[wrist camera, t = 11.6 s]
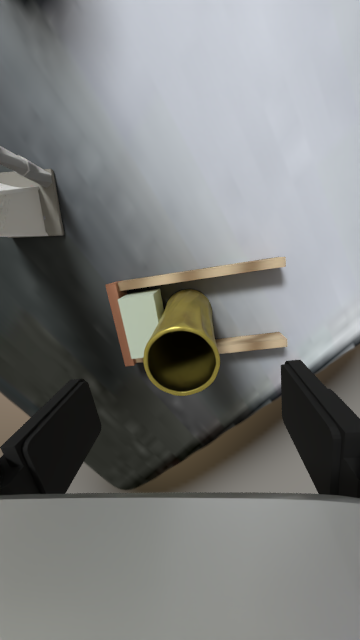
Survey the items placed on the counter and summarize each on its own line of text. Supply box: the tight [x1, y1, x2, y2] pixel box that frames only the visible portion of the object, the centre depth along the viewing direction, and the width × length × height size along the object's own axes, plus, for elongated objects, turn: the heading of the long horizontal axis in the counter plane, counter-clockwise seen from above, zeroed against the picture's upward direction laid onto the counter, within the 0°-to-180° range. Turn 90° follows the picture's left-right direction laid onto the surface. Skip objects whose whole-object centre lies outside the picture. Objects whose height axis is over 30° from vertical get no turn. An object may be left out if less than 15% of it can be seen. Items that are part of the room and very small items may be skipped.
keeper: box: [118, 289, 164, 359], centre depth 26 cm, size 4×7×4 cm, turn 9°
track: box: [106, 257, 287, 366], centre depth 26 cm, size 20×10×3 cm, turn 99°
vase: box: [143, 289, 220, 396], centre depth 21 cm, size 6×6×14 cm
